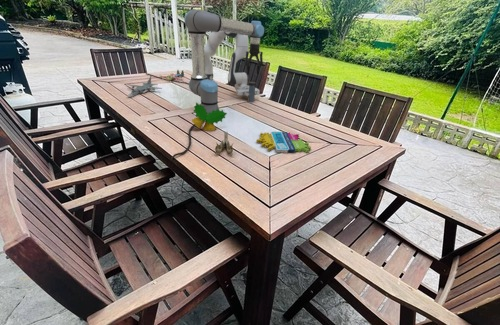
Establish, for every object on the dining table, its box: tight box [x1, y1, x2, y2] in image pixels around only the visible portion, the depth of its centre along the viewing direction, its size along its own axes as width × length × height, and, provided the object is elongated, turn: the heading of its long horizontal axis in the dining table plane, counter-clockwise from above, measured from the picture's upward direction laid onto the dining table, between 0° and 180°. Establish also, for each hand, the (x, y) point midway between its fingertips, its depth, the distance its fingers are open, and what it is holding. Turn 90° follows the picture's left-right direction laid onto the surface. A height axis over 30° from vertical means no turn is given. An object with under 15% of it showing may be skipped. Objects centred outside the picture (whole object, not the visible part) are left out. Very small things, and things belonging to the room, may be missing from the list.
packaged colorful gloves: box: [256, 131, 312, 154], centre depth 152 cm, size 26×2×30 cm
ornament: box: [191, 102, 228, 132], centre depth 162 cm, size 21×8×15 cm, turn 105°
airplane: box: [127, 75, 162, 98], centre depth 225 cm, size 38×32×10 cm
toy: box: [159, 69, 185, 82], centre depth 278 cm, size 28×7×30 cm
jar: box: [247, 84, 256, 103], centre depth 219 cm, size 5×5×16 cm
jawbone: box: [214, 131, 234, 156], centre depth 136 cm, size 9×15×10 cm
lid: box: [248, 81, 257, 87], centre depth 216 cm, size 6×6×2 cm
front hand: (252, 74), depth 212 cm, fingers open, 8 cm apart
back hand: (252, 94), depth 220 cm, fingers closed on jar, 5 cm apart
